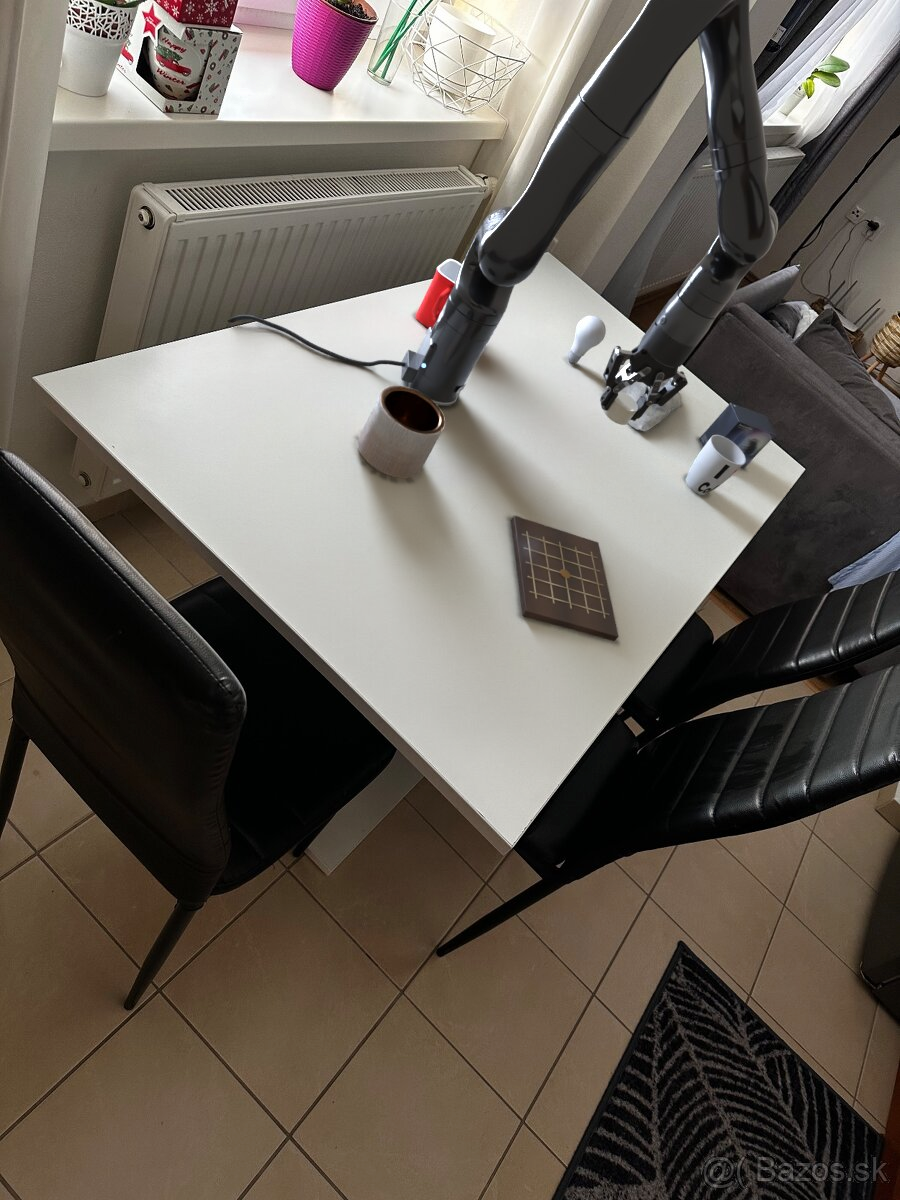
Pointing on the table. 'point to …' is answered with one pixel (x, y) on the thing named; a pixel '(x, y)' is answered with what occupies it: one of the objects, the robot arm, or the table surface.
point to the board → (562, 579)
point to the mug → (438, 292)
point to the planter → (401, 431)
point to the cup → (714, 465)
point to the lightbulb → (586, 337)
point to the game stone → (622, 409)
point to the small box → (742, 430)
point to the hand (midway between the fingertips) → (617, 411)
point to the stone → (654, 411)
